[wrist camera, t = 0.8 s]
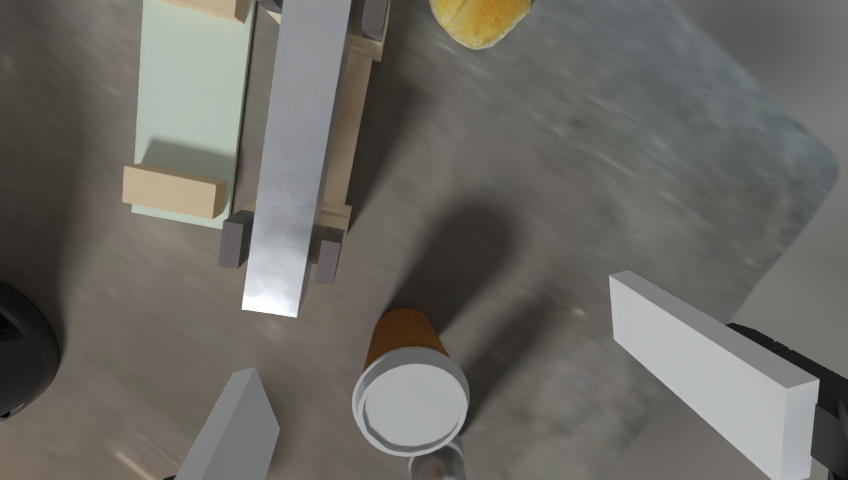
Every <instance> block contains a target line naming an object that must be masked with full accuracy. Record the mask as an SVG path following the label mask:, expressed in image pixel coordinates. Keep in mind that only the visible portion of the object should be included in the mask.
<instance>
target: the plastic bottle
mask: <svg viewBox="0 0 848 480" xmlns="http://www.w3.org/2000/svg"><path fill="white" fill-rule="evenodd" d="M405 460H406V464H407V468H408V471H409V474H410V476H411V480H466V475H465V468H464V452H463V444H462V441H461V438H460V436H459V434H458V433H457V434H456V435H455V437H454V438H453V439H452V440H451V441H450V442H448V443H447V444H446V445H444V446H443V447H441V448H439V449H437V450H435V451H433V452H431V453H428V454H424V455H420V456H409V457H405Z"/></svg>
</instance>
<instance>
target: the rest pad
mask: <svg viewBox="0 0 848 480" xmlns="http://www.w3.org/2000/svg"><path fill="white" fill-rule="evenodd" d="M255 6H256V0H143V18H142V36H141V54H140V72H139V90H138V108H137V126H136V144H135V162H134V164H133V165H127V166H124V178H123V198H122V202H124V203H130V204H132V212H134V213H139V214H144V215H149V216H155V217H160V218H165V219H171V220H176V221H181V222H187V223H192V224H197V225H202V226H208V227H213V228H218V229H222V228H223V221H224V220H226V219H227V218H229V217H230V215H231V207H232V198H233V190H234V182H235V173H236V165H237V157H238V148H239V140H240V131H241V123H242V115H243V106H244V98H245V89H246V81H247V73H248V64H249V56H250V47H251V39H252V31H253V22H254V14H255Z"/></svg>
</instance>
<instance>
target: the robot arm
mask: <svg viewBox="0 0 848 480" xmlns="http://www.w3.org/2000/svg"><path fill="white" fill-rule="evenodd" d="M609 281H610V294H611V306H612V318H613V331H614V340H616V341H617V342H618V343H619V344H620V345H621V346H622V347H623V348H625V349H626V350H627V351H628V352H629V353H630V354H631V355H632V356H634V357H635V358H636V359H637V360H638V361H639V362H640V363H641V364H643V365H644V366H645V367H646V368H647V369H648V370H649V371H650V372H652V373H653V374H654V375H655V376H656V377H657V378H658V379H659V380H661V381H662V382H663V383H664V384H665V385H666V386H667V387H668V388H670V389H671V390H672V391H673V392H674V393H675V394H676V395H678V396H679V397H680V398H681V399H682V400H683V401H684V402H685V403H687V404H688V405H689V406H690V407H691V408H692V409H693V410H695V411H696V412H697V413H698V414H699V415H700V416H701V417H702V418H703V419H704V420H706V421H707V422H708V423H709V424H710V425H711V426H712V427H714V428H715V429H716V430H717V431H718V432H719V433H720V434H721V435H722V436H724V437H725V438H726V439H727V440H728V441H729V442H730V443H731V444H733V445H734V446H735V447H736V448H737V449H738V450H739V451H741V452H742V453H743V454H744V455H745V456H746V457H747V458H748V459H749V460H751V461H752V462H753V463H754V464H755V465H756V466H757V467H758V468H760V469H761V470H762V471H763V472H764V473H765V474H766V475H768V476H769V477H770V478H771V479H772V480H802V479H806V478H809V477H810V470H811V460H812V457H813V458H815V459H816V460H817V461H819V462H820V463H821V464H823V465H824V466H826V467H827V468H828V469H829V472H828V480H848V379H846V378H844V377H842V376H840V375H838V374H836V373H834V372H833V371H831V370H829V369H827V368H825V367H823V366H822V365H820V364H818V363H816V362H814V361H812V360H810V359H809V358H807V357H805V356H803V355H801V354H799V353H797V352H796V351H794V350H789V348H788V347H786V346H784V345H783V344H781V343H779V342H774V341H773V339H771V338H770V337H768V336H766V335H764V334H762V333H760V332H758V331H756V330H755V329H751V328H748V327H745V326H742V325H738V324H735V323H730V324H726V325H724V324H722V323H720V322H718V321H717V320H715V319H713V318H711V317H710V316H708V315H706V314H704V313H703V312H701V311H699V310H697V309H696V308H694V307H692V306H690V305H689V304H687V303H685V302H683V301H682V300H680V299H678V298H676V297H675V296H673V295H671V294H669V293H668V292H666V291H664V290H662V289H661V288H659V287H657V286H655V285H654V284H652V283H650V282H648V281H647V280H645V279H643V278H641V277H640V276H638V275H636V274H634V273H633V272H631V271H629V270H627V271H623V272H619V273H615V274H612V275H609ZM57 364H58V349H57V343H56V340H55V337H54V334H53V332H52V330H51V328H50V326H49V324H48V322H47V321H46V319H45V318H44V317H43V315H42V314H41V313H40V312H39V310H38V309H37V308H36V307H35V306H34V305H33V304H32V303H31V302H30V301H28V300H27V299H26V298H25V297H24V296H22V295H21V294H19V293H18V292H16V291H15V290H13V289H12V288H10V287H8V286H7V285H5V284H3V283H1V282H0V422H2V421H4V420H6V419H8V418H10V417H12V416H13V415H15V414H17V413H18V412H20V411H21V410H22V409H24V408H25V407H26V406H27V405H29V404H30V403H31V402H32V401H34V400H35V399H36V398H37V397H39V396H40V395H41V394H42V393H43V392H44V391H45V390H46V389H47V387H48V386H49V385H50V383H51V381H52V380H53V378H54V375H55V373H56V369H57ZM279 431H280V428H279V425H278V423H277V420H276V418H275V415H274V413H273V410H272V408H271V405H270V403H269V400H268V398H267V395H266V393H265V390H264V388H263V386H262V383H261V381H260V378H259V376H258V373H257V371H256V368H255V367H252V368H249V369H245V370H241V371H237V372H233V374H232V375H231V377H230V379H229V381H228V383H227V384H226V386H225V388H224V390H223V392H222V394H221V395H220V397H219V399H218V401H217V403H216V404H215V406H214V408H213V410H212V412H211V413H210V415H209V417H208V419H207V421H206V423H205V424H204V426H203V428H202V430H201V432H200V433H199V435H198V437H197V439H196V441H195V442H194V444H193V446H192V448H191V450H190V452H189V453H188V455H187V457H186V459H185V461H184V462H183V464H182V466H181V468H180V470H179V471H178V473H177V475H175V476H171V477H168V478H164V479H163V480H265V478H266V475H267V472H268V468H269V465H270V462H271V458H272V455H273V451H274V448H275V445H276V441H277V438H278V435H279Z"/></svg>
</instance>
